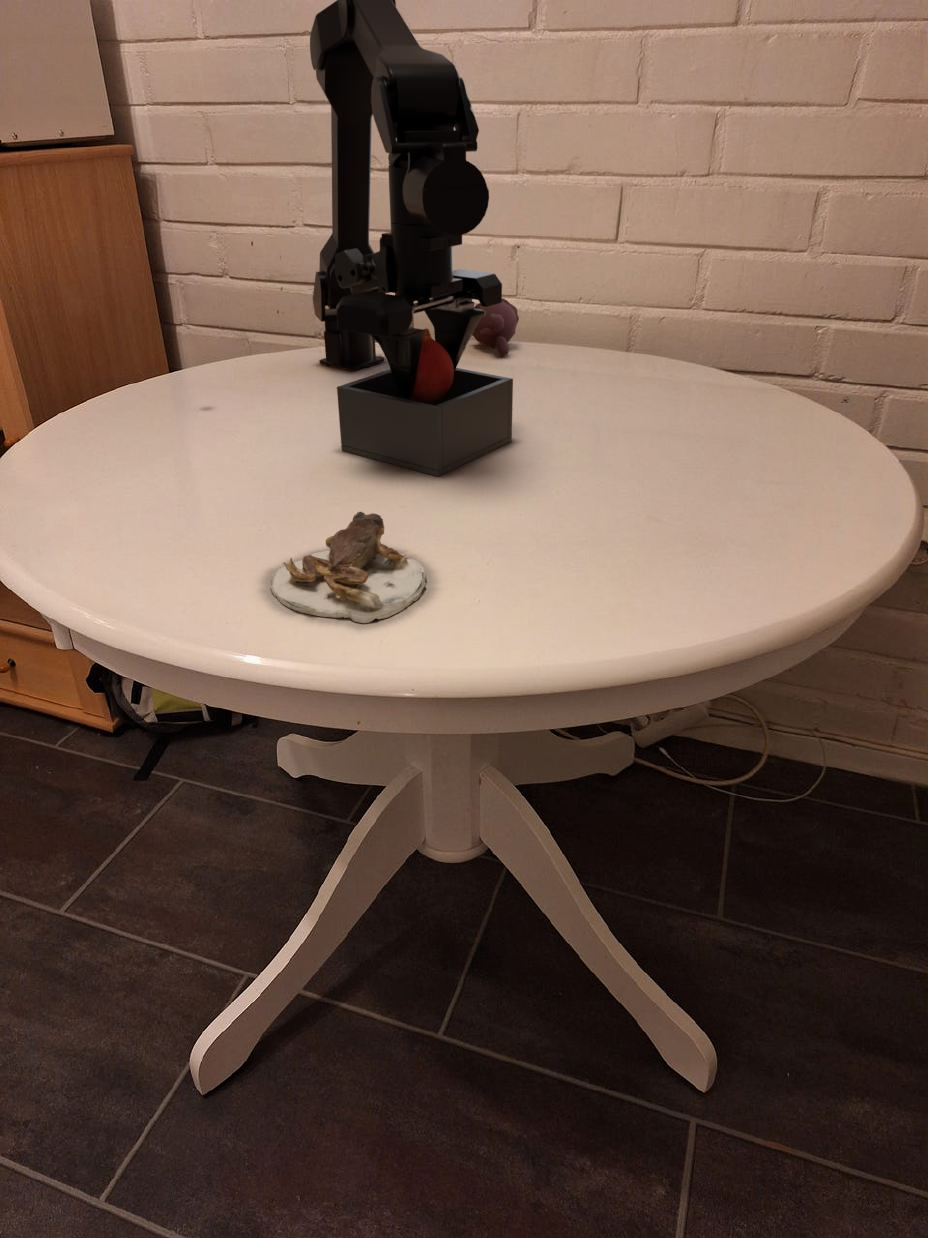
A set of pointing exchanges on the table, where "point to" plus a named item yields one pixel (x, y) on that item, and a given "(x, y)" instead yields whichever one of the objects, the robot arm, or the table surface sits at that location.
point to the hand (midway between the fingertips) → (425, 389)
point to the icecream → (497, 326)
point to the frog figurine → (351, 576)
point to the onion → (432, 372)
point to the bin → (426, 421)
